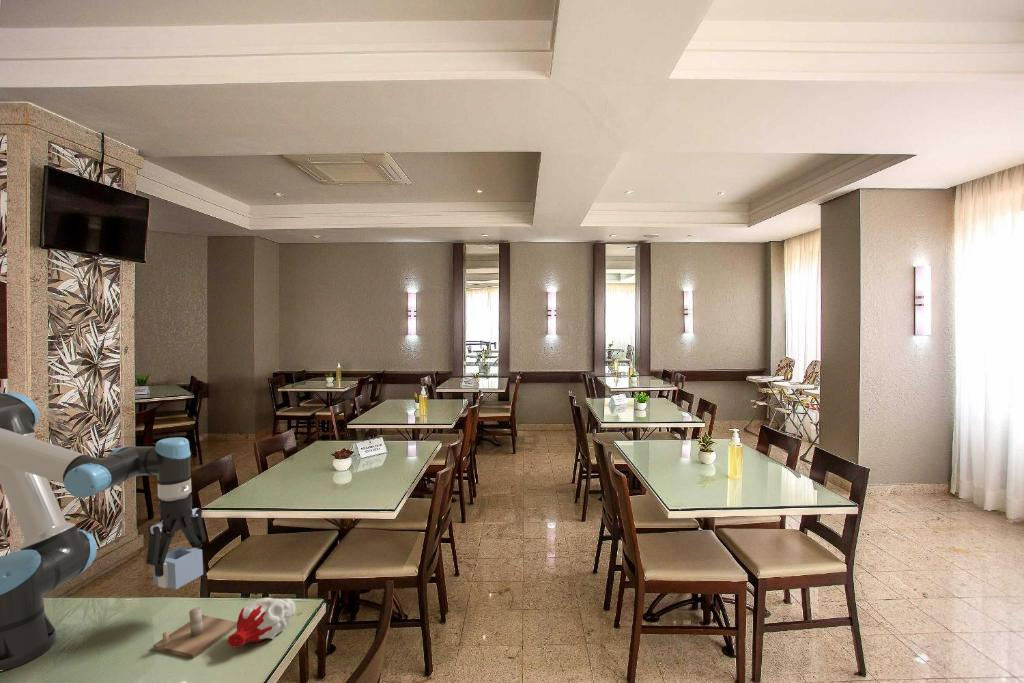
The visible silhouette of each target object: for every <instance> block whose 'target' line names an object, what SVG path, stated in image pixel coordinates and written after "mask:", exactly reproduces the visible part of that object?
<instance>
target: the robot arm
mask: <svg viewBox="0 0 1024 683" xmlns="http://www.w3.org/2000/svg"><path fill="white" fill-rule="evenodd" d="M39 418H40V413H39V409H38V406H37V405H36V404H35V402H34V401H33V400H32V399H31V398H29V397H28V396H26V395H24V394H21V393H18V392H0V485H1V488H2V490H3V493H4V495H5V497H6V499H7V502H8V503H9V504H8V505H9V507H10V509H11V511H12V513H13V515H14V517H15V521H16V522H17V524H18V528H20V531H21V533H22V535H23V537H24V539H23V542H22V543H21V545H20V547H19V549H20V550H18V551H12V552H9V553H8V554H6V555H2V556H0V670H5V669H8V670H10V669H9V668H11V669H14V668H16V667H20V666H22V665H24V664H26V663H28V662H30V661H32V660H34V659H36V658H39V657H40V656H42V655H43V654H45V653H46V652H47V651H48V649H49V648H50V649H51V648H52V647H53V646H54V645H55V644H56V642H57V639H56V638H57V631H56V627H54V624H53V623H52V622H51V621H52V620H50V618H49V616H47V614H46V611H45V600H44V599H45V598H44V596H45V595H47V594H49V593H51V592H52V591H54V590H56V589H57V588H59V587H60V586H62V585H63V584H65V583H67V582H69V581H70V580H73V579H75V578H77V577H79V575H80V574H82V573H83V572H84V571H86V570H87V569H88V568H90V566H91V565H92V564H93V562H94V560H95V559H96V556H97V550H98V549H97V548H98V546H97V542H96V539H95V537H94V536H93V535H92V534H91V533H90V532H87V531H86V530H84V529H78V528H77V525H76V524H75V523H74V522H69V521H67V520H66V518H65V516H64V514H63V512H62V510H61V507H60V505H59V503H58V501H57V497H56V496H55V494H54V490H53V489H52V486H51V485H50V481H54V482H57V483H61V484H63V487H64V489H65V490H66V492H68V493H69V494H70V495H71V496H72V497H75V498H79V499H81V498H87V497H90V496H94V495H99V493H102V492H104V491H105V490H108V489H110V488H112V487H114V486H117V485H120V484H121V483H124V482H126V481H129V480H131V479H133V478H135V477H138V476H156V481H157V498H159V499H158V501H157V503H158V513H159V516H160V517H159V518H160V519H159V521H158V522H157V523H155V524H154V525H149V526H148V528H147V530H148V534H149V536H148V543H147V544H148V545H147V554H146V561H145V564H146V565H148V566H149V565H150V566H152V567H153V566H155V575H156V576H157V577H158V585H157V587H158V588H159V587H160V588H164V589H167V587H168V565H167V562H164V561H165V558H166V555H167V552H168V551H169V548H170V545H171V542H172V540H173V537H175V535H176V533H177V532H178V531H179V530H181V531H182V533H183V534H184V537H185V538H186V540H187V542H188V544H189V545H190V546H189V547H190V548H195V549H200V548H202V546H203V543H204V542H206V540H207V537H206V532H205V528H204V523H203V519H202V513H203V509H202V508H199V507H198V508H197V507H193V495H192V494H191V493H192V476H191V475H192V474H191V454H192V453H191V449H190V441H189V439H187V438H185V437H179V436H178V437H168V438H167V437H166V438H163V439H160V440H158V441H156V443H155V446H134V445H133V446H132V445H128V446H120V447H116V448H113V449H112V450H111V452H110V453H108V455H107V456H105V457H100V458H98V457H94V456H91V455H88V454H84V453H81V452H78V451H75V450H72V449H69V448H65V447H62V446H59V445H56V444H53V443H50V442H46V441H44V440H40V439H37V438H34V437H35V436H36V432H35V429H34V427H36V425H37V424H38V422H39V420H38V419H39ZM49 480H50V481H49ZM190 519H191V521H190ZM54 643H55V644H54ZM53 644H54V645H53ZM52 645H53V646H52ZM51 646H52V647H51ZM50 649H49V650H50ZM5 671H6V670H5Z"/></svg>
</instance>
